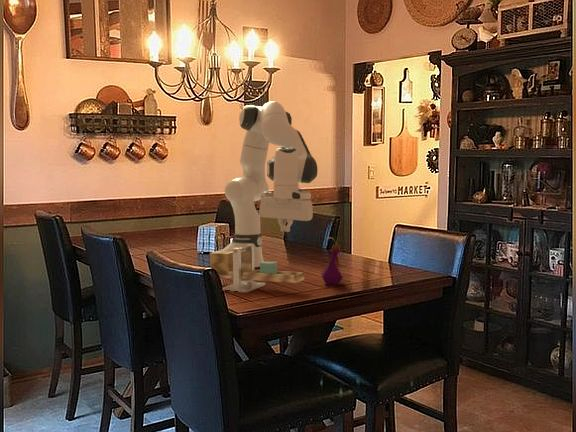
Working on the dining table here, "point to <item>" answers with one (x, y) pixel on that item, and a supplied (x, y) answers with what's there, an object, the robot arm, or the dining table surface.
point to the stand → (237, 275)
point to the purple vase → (332, 268)
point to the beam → (248, 268)
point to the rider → (268, 267)
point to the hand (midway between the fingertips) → (285, 231)
